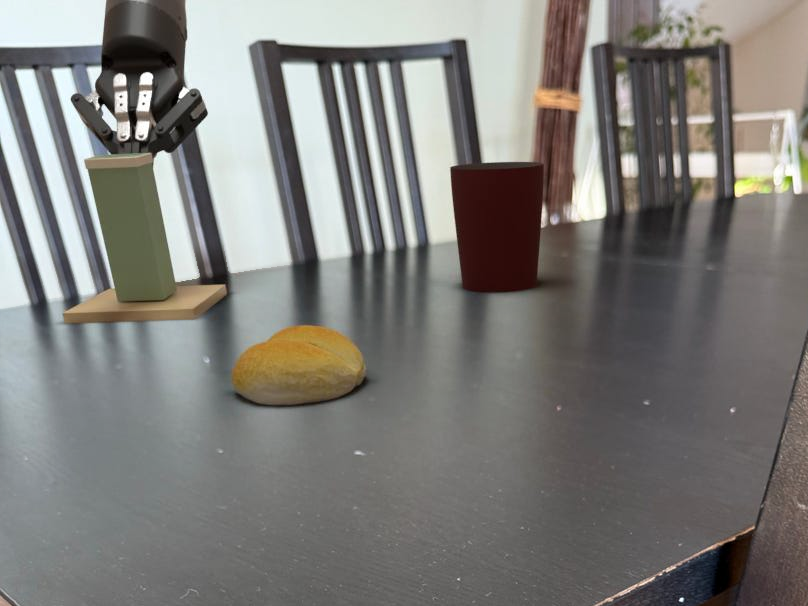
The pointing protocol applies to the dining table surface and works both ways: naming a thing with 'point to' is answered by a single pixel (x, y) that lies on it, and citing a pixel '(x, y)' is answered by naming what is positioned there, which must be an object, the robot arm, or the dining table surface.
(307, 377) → the bread roll
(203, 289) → the post base
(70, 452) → the dining table surface
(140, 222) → the post
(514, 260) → the mug
